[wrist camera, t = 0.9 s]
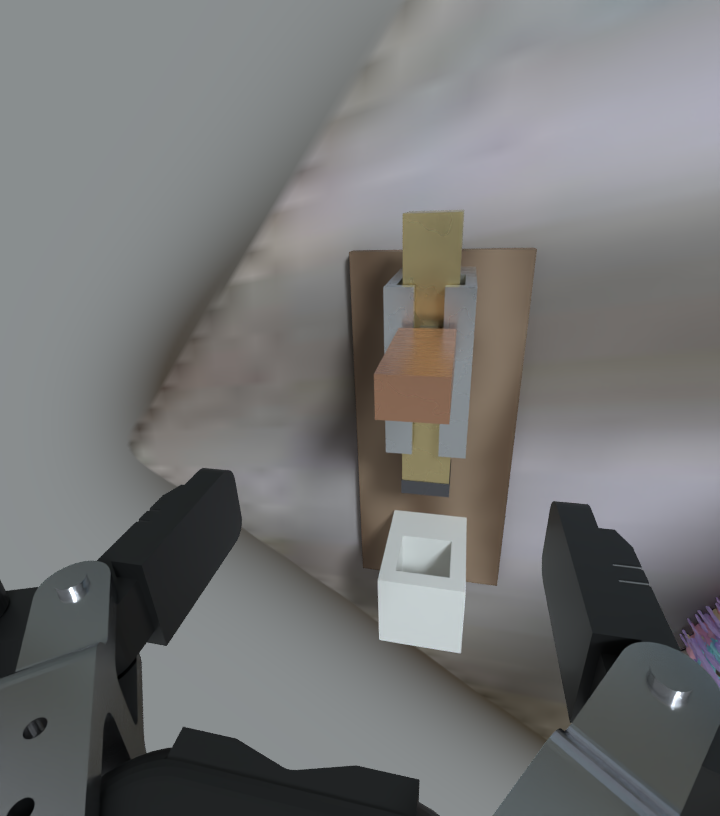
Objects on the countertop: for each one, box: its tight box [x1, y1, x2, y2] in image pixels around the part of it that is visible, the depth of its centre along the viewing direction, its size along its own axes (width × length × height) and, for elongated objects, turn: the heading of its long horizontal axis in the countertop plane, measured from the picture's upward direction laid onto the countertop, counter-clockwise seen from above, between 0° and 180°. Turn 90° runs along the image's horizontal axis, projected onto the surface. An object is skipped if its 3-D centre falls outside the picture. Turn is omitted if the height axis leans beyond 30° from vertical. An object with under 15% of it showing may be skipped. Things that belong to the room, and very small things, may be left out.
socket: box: [378, 510, 467, 653], centre depth 36 cm, size 6×6×8 cm
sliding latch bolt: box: [374, 210, 464, 497], centre depth 24 cm, size 3×17×12 cm, turn 2°
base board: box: [349, 248, 537, 586], centre depth 36 cm, size 12×28×1 cm, turn 2°
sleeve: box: [383, 267, 477, 459], centre depth 29 cm, size 5×10×7 cm, turn 2°
